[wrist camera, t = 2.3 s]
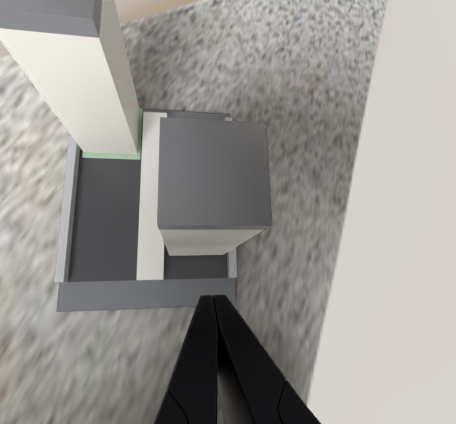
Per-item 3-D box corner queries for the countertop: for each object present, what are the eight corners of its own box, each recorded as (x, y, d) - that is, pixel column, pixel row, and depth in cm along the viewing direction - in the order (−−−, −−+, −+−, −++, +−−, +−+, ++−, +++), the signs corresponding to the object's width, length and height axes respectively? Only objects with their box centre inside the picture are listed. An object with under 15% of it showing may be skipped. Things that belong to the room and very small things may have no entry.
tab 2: (222, 255, 20) (272, 225, 9) (169, 255, 19) (156, 225, 9) (221, 204, 21) (266, 123, 10) (170, 203, 20) (159, 117, 10)
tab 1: (137, 154, 21) (92, 19, 10) (83, 152, 20) (-26, 6, 9) (139, 108, 21) (100, -62, 11) (87, 105, 21) (-9, -78, 10)
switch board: (234, 304, 20) (238, 305, 19) (60, 311, 18) (50, 313, 17) (228, 118, 23) (231, 107, 22) (79, 109, 22) (72, 97, 20)
